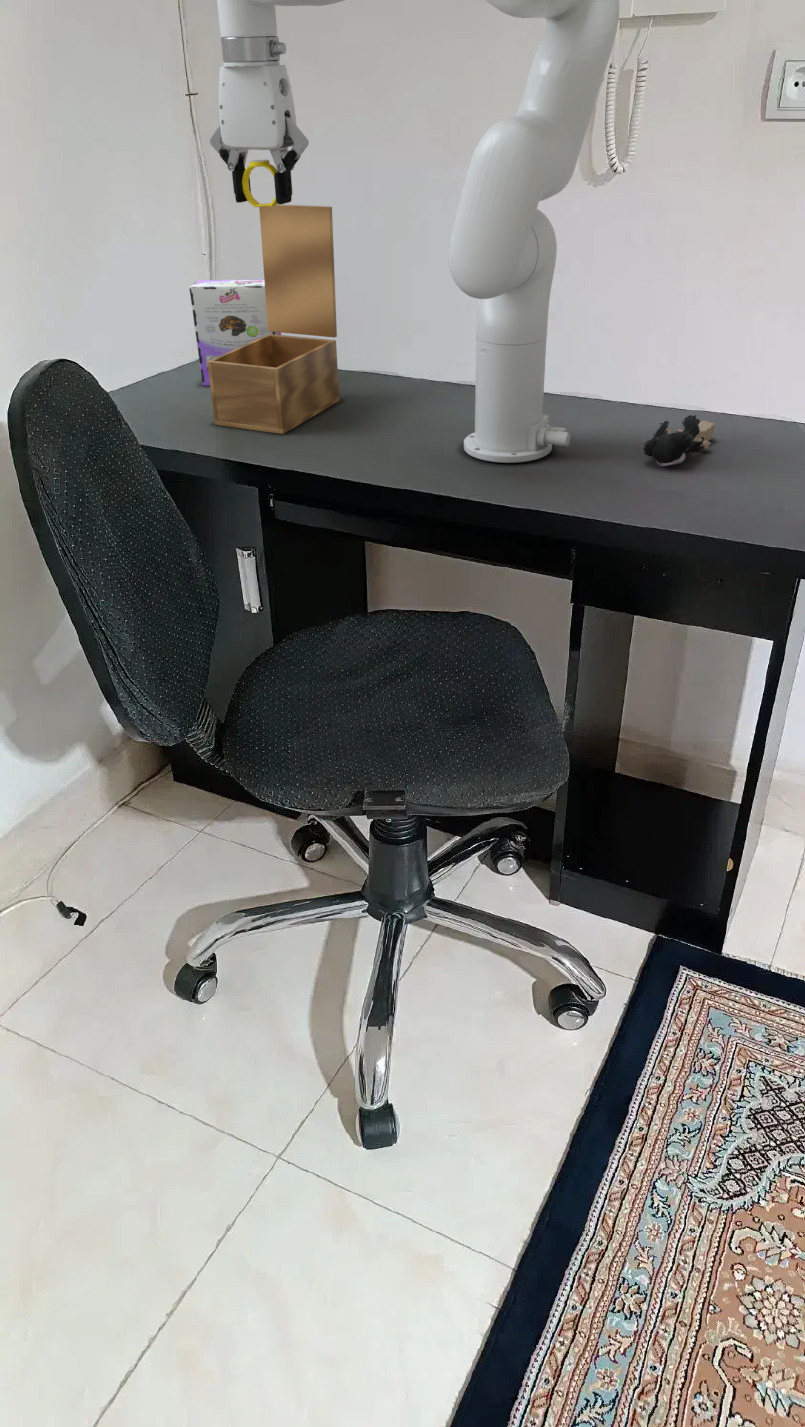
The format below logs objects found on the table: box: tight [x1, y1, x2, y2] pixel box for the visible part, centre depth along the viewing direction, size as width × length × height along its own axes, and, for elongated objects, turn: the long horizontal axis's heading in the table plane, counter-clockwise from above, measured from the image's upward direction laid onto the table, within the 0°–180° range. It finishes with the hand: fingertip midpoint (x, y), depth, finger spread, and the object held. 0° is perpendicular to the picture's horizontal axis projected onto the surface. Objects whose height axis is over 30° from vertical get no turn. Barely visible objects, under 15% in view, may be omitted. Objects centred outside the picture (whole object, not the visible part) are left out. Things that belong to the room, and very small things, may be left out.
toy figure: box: [643, 414, 716, 468], centre depth 145 cm, size 7×6×15 cm
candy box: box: [188, 278, 282, 387], centre depth 177 cm, size 14×6×16 cm, turn 84°
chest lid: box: [258, 204, 338, 339], centre depth 164 cm, size 19×12×5 cm
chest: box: [207, 334, 340, 435], centre depth 164 cm, size 18×12×10 cm
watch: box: [242, 159, 277, 208], centre depth 148 cm, size 6×3×6 cm, turn 66°
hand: (263, 200), depth 149 cm, fingers closed on watch, 6 cm apart
